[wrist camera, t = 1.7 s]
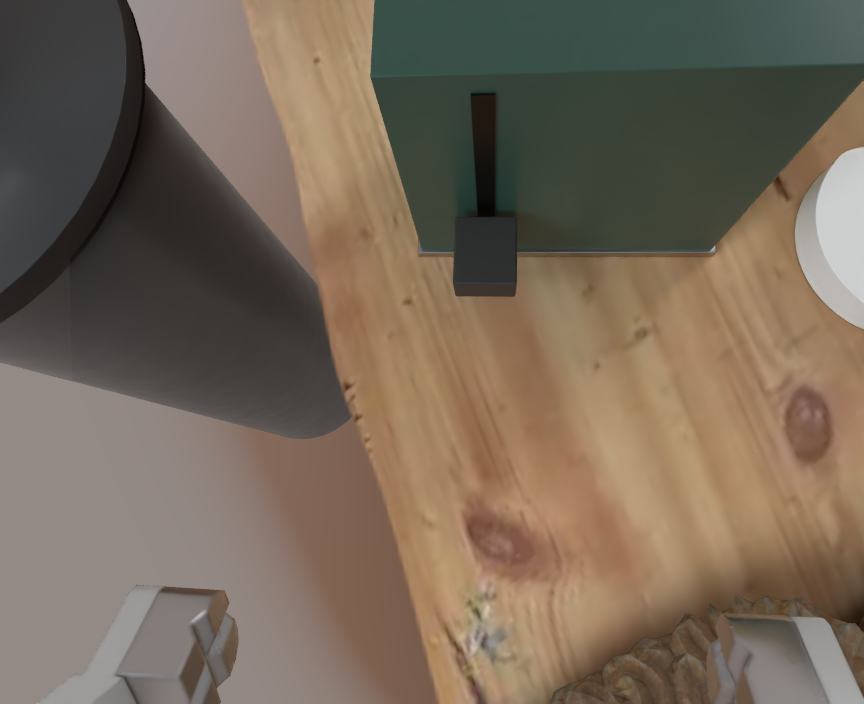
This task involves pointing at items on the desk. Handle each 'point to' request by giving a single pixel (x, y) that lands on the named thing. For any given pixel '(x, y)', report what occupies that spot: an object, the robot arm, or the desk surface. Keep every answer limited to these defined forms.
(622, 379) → the desk surface
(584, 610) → the desk surface
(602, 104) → the toaster
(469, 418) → the desk surface
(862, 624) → the boat shoe
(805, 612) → the brain coral
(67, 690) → the robot arm
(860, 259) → the bracket
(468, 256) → the handle
